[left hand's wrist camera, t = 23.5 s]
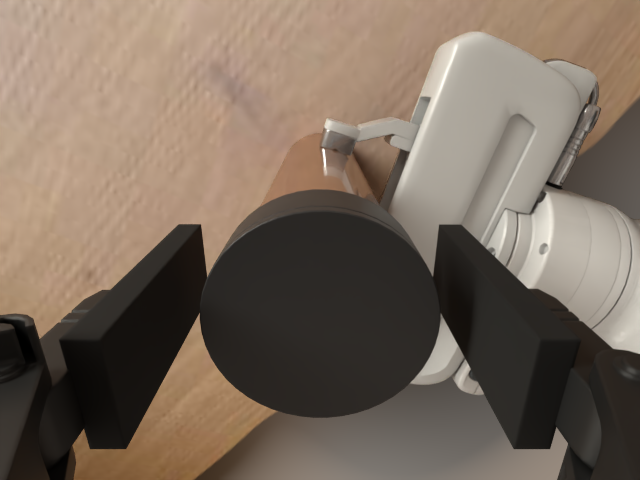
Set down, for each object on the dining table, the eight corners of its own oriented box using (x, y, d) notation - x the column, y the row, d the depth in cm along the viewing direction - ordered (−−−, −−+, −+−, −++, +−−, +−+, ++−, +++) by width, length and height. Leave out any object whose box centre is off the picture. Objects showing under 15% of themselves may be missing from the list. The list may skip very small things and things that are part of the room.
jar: (325, 117, 27) (334, 169, 9) (371, 175, 29) (455, 316, 11) (268, 166, 29) (181, 294, 11) (315, 220, 30) (308, 411, 12)
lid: (309, 141, 10) (306, 154, 8) (463, 278, 12) (491, 315, 10) (180, 295, 12) (152, 335, 10) (328, 398, 13) (330, 451, 11)
